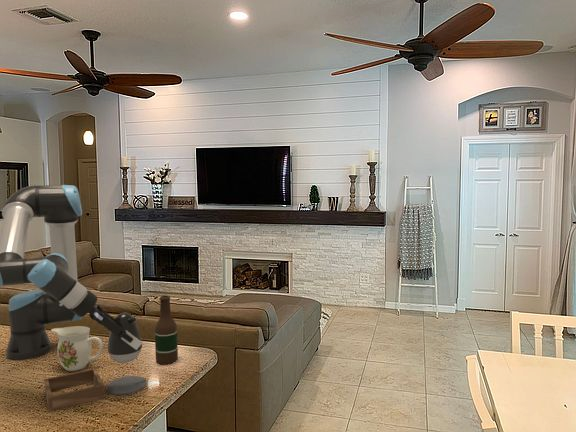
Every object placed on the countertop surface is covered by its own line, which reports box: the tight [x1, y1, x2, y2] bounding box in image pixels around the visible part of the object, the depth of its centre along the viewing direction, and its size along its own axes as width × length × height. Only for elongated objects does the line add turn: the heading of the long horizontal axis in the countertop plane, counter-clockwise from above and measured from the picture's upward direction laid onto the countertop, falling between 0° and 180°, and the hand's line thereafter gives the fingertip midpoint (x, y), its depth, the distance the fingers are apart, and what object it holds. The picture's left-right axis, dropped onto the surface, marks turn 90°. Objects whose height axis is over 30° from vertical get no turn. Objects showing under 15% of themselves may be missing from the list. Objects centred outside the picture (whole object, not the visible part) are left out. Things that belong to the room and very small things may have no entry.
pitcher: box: [50, 325, 104, 372], centre depth 161 cm, size 11×18×14 cm, turn 88°
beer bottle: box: [154, 295, 179, 366], centre depth 165 cm, size 8×8×24 cm
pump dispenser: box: [107, 312, 143, 364], centre depth 144 cm, size 10×10×15 cm
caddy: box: [43, 367, 105, 412], centre depth 140 cm, size 15×15×4 cm
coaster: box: [106, 375, 147, 396], centre depth 146 cm, size 12×12×1 cm
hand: (135, 341), depth 145 cm, fingers closed on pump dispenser, 10 cm apart
